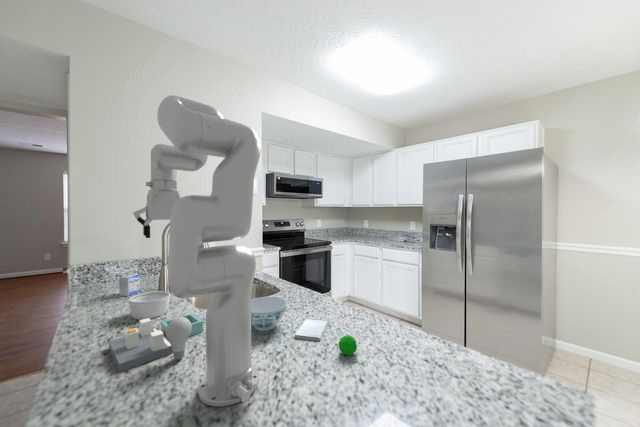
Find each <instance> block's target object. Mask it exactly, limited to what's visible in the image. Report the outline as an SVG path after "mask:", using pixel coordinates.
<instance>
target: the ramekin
mask: <svg viewBox="0 0 640 427" xmlns="http://www.w3.org/2000/svg"><path fill="white" fill-rule="evenodd" d="M170 299H171V292H168V291H161V290H160V291H158V290H157V291H156V290H155V291H148V292H143V293H139V294H135V295H134V296H133V295H132V296H131V297H130V298H129V299H128V304H129V309H130V316H131V317H132V318H133V319H135V320H143V319H147V318H150V320H151V319H155V318H157V317H158V316H159V317H161V316H163V315H165V314H166V313H167V311H168V310H169V303H170ZM165 312H166V313H165ZM164 313H165V314H164ZM159 317H158V318H159Z"/></svg>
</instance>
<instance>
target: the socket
mask: <svg viewBox="0 0 640 427" xmlns="http://www.w3.org/2000/svg"><path fill="white" fill-rule="evenodd" d="M177 317H178V316H177ZM177 317H173V318H170V319H167V320H166V319H165V320H162V321H160V330H161V331H162V332H163V333H164V336H165V337H166V338H167V336H166V327H167V325H168V324H169V323H170V321H172V320H173V319H175V318H177ZM179 317H185V318H187V319H188V320H189V321H190V322H191V325H192V329H191V332H190V334H189V336H188V338H189V337H192V336H195V335H198V334H202V333H203V332H204V331H203V330H204V327H203V326H204V323H203V322H204V320H201V319H200V318H199V317H198V316H197V315H195V314H193V313H189V314H184V315H182V316H179ZM167 339H168V338H167Z"/></svg>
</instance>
